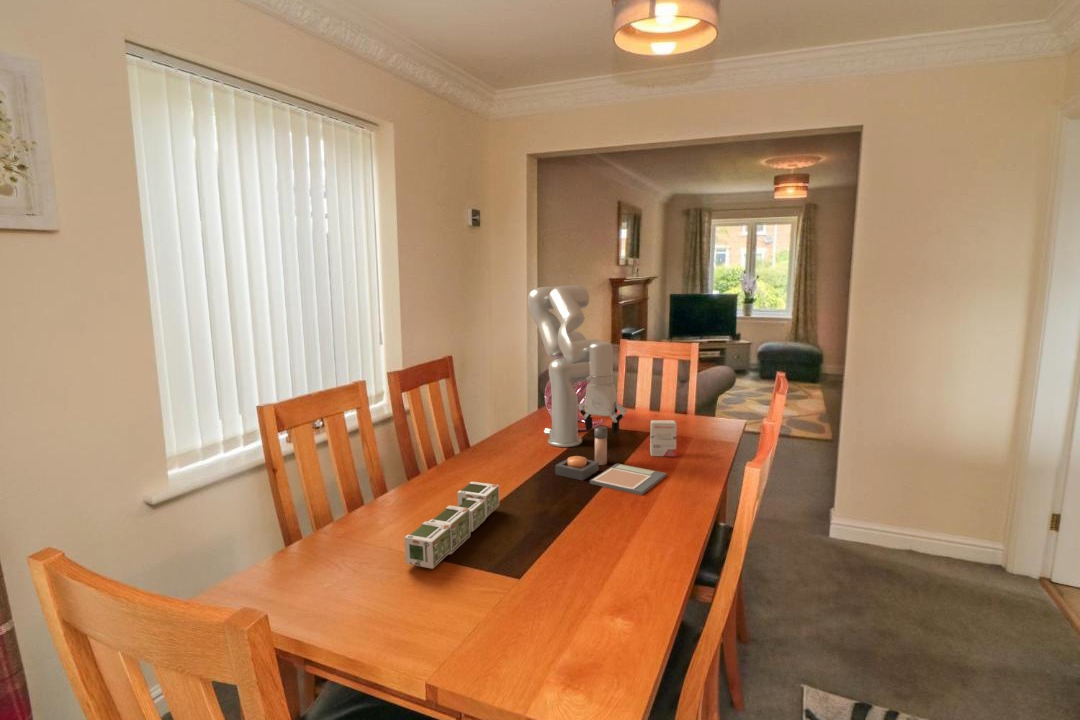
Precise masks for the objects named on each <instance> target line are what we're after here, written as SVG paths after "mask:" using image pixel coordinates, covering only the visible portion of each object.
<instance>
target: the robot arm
mask: <svg viewBox="0 0 1080 720" xmlns="http://www.w3.org/2000/svg"><path fill="white" fill-rule="evenodd" d="M589 303H590V294H589V292H588V290H587V289H586V287H584V286H583V285H561V286H559V285H558V286H541V287H536V288H534V289H532V290H530V292H529V293H528V295H527V307H528V311H529V314H530V316H531V317H532V320H533V321H534V323H535V325H536V326H537V330H538V331H539V335H540V338H541V340H542V343H543V346H544V349H545V352H546V354H547V356H548V357H550V358H551V359H553V360H552V361H551V362H549V365H548V377H549V380H550V382H551V384H550V385H551V393H552V396H551V398H552V405H551V407H552V417H551V428H550V427H546V428H544V431H543V434H544V435H547V436H548V435H549V437H548V438H547V443H548V444H549V445H550V446H553V447H559V448H570V447H571V448H572V447H578V446H579V445H581V444H582V443H583V438H582V437H580V436H578V435H579V433H578V432H579V431H578V428H579V426H578V425H579V424H578V423H579V421H578V407H579V409H580V415H582V417H583V418H584V419H585V423H584V425H585V426H584V428H586V430H585V431H586V432H588V431H590V430H593V429H592V426H593V424H592V421H593V417H592V416H598V417H606V418H608V417H610V419H611V420H612V422H611V433H612V435H613V436H614V435H616V434H618V433H619V431H620V421H621V420H622V419H623V418H624V417H625V414H626V412H627V408H625V407H624V406H622V405H621V404H619V403H618V396H617V395H618V393H617V389H616V385H615V383H614V370H613V369H614V367H613V366H614V365H613V363H614V360H613V355H614V354H613V353H614V352H613V351H614V350H613V349H614V348H613V344H612V343H611V342H608V341H602V340H601V339H597V338H596V339H594V338H593V339H587V338H586V337H585V335H584V334H583V333H582V332H580V331H575V330H577V329H579V328H580V327H581V326H582V325H583V323H584V321H585V319H586V318H585V313H584V312H583V311H582V309H585V308H587V307H588V306H589ZM550 310H554V312H555V314H556V315H555V314H553V313H552V312H551V311H550ZM554 358H555V359H554ZM587 381H589V382H590V384H587V389H586V392H585V396H584V397H585V402H582V403H580V402H579V401H578V397H577V393H576V391H575V390H574V389H575V388H574V386H572V385H571V384H573V383H575V384H576V383H578V384H579V382H587ZM584 406H585V407H584ZM618 411H619V412H620V413H619V414H618Z"/></svg>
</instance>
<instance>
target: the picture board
mask: <svg viewBox="0 0 1080 720" xmlns="http://www.w3.org/2000/svg"><path fill="white" fill-rule="evenodd" d="M666 477H667V472H664V471H658V470H652V469H649V468H648V469H647V468H642V467H638V466H632V465H628V464H623V463H617V462H616V463H615V464H613V465H612V466H610V467H609V468H607V469H606V470H603V472H601V473H599V474H597V475H596V476H594V477H593V478H590V480H589V484H590V485H594V486H599V487H604V488H607V489H612V490H617V491H622V492H624V493H625V492H626V493H629V492H630V494H634V495H638V496H643V495H644V494H646V493H647V492H648V491H649V490H651V489H652V488H653V487H655V486H656V485H657V484H658V483H660V482H661V481H662V480H663V479H664V478H666Z"/></svg>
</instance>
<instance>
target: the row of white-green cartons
mask: <svg viewBox="0 0 1080 720" xmlns="http://www.w3.org/2000/svg"><path fill="white" fill-rule="evenodd" d="M456 493H457V506H456V505H448V506H447V507H445V509H444V510H442V511H441V513H439V514H438V515H437V516H435V517H434V518H433V519H430V520H428V521H424V522H422V523H421V525H420V526H419V527H418V528H416V529H415V530H414V531H412V532H411V533H410V534H407V535H406V536H404V551H405V554H404V556H405V564H406V565H412V566H416V567H422V568H427V569H432V570H433V569H434V568H435V567H437V565H438V564H440V562H441V561H443V560H444V559H445V558H446V557H447V556H448V555H452V554H453V553H454V552H455V551H456V550H457V549H458V548H459V547H460V546H462V545H463V544H464V543H465V542H466V541H467V540H468V539H469V538H470V537H471V533H472V532H474V531H475V530H476V529H477V528H479V527H480V525H481V524H483V523H484V522H485V521H486V519H487V518H488V517H489V516H490V515H491V514H492V513H493V512H494V511H495V510H496V509H497V508H498V507H499V506H500V485H499V484H493V483H486V482H485V483H484V482H478V481H470V482H469V483H468V484H467V485H466V486H465V487H463V488H462V489H460V490H458V491H457V492H456Z"/></svg>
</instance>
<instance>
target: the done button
mask: <svg viewBox="0 0 1080 720" xmlns="http://www.w3.org/2000/svg"><path fill="white" fill-rule="evenodd" d="M567 459H568V466H570V467H575V468H580V469H581V468H583V467H585V466H586V465H587V460H588V459H587V457H585V456H582V455H581V456H580V455H573V456H569V457H567Z"/></svg>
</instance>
